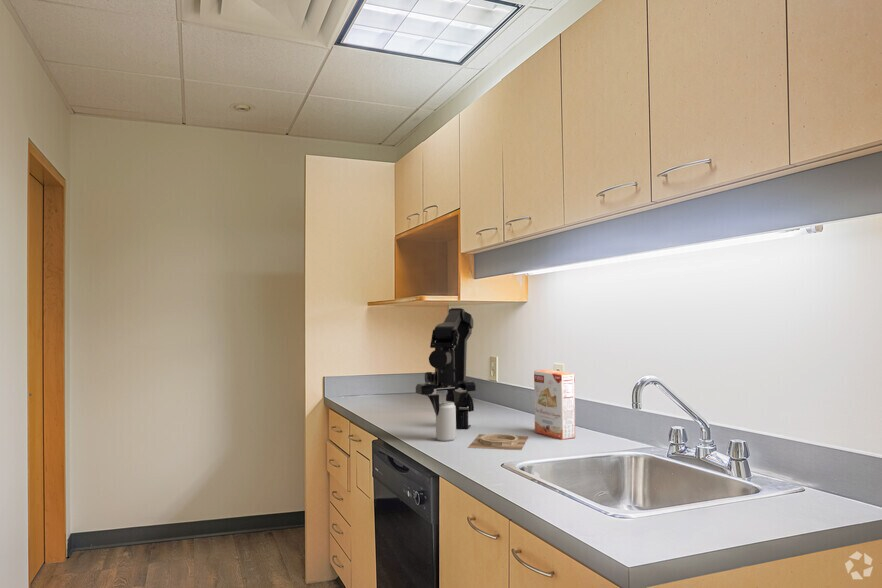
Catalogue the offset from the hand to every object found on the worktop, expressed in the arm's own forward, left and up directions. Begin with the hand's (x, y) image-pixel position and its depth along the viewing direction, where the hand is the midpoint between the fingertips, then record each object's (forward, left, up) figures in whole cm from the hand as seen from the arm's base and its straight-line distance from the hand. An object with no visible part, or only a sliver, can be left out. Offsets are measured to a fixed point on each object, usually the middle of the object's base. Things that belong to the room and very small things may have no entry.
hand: (446, 414), depth 205 cm
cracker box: (-14, +33, -8) cm, 37 cm away
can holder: (+1, +17, -8) cm, 19 cm away
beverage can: (0, 0, -8) cm, 8 cm away
